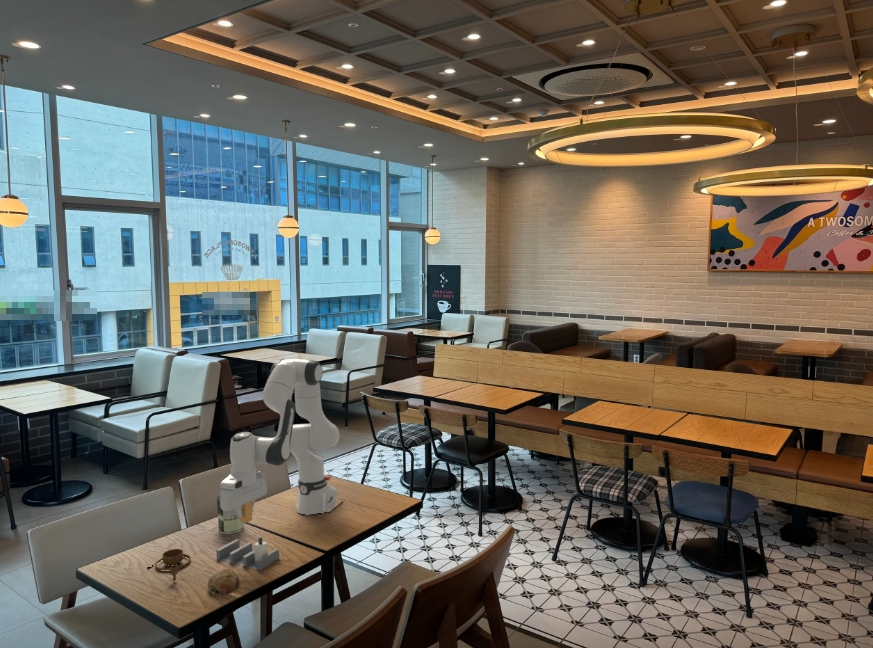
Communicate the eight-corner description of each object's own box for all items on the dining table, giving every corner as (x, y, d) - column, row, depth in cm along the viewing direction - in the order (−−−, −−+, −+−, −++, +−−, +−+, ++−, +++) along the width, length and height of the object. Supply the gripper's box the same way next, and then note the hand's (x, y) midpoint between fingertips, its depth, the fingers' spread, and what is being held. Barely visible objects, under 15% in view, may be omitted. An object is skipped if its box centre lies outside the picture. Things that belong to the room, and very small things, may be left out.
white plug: (260, 559, 224) (259, 535, 223) (267, 561, 222) (266, 537, 222) (254, 562, 221) (253, 538, 220) (262, 564, 220) (261, 540, 219)
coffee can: (213, 533, 250) (211, 499, 249) (228, 523, 260) (226, 491, 259) (234, 535, 248) (233, 501, 246) (249, 525, 258) (247, 492, 256)
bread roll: (206, 602, 204) (199, 586, 200) (218, 576, 213) (212, 560, 209) (233, 603, 202) (227, 588, 199) (245, 577, 211) (240, 561, 207)
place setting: (204, 558, 229) (203, 543, 229) (178, 585, 209) (177, 568, 209) (159, 557, 230) (158, 542, 230) (129, 584, 211) (128, 568, 210)
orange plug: (245, 518, 226) (244, 494, 225) (252, 520, 224) (251, 496, 223) (239, 521, 223) (238, 497, 222) (246, 522, 221) (245, 498, 221)
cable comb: (237, 550, 234) (236, 539, 234) (279, 561, 224) (278, 549, 224) (216, 561, 225) (216, 549, 225) (260, 573, 216) (259, 560, 215)
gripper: (257, 468, 233) (259, 503, 234) (216, 484, 215) (218, 523, 216) (270, 470, 230) (271, 506, 231) (229, 487, 212) (231, 525, 213)
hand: (245, 514), depth 223 cm, fingers closed on orange plug, 3 cm apart
